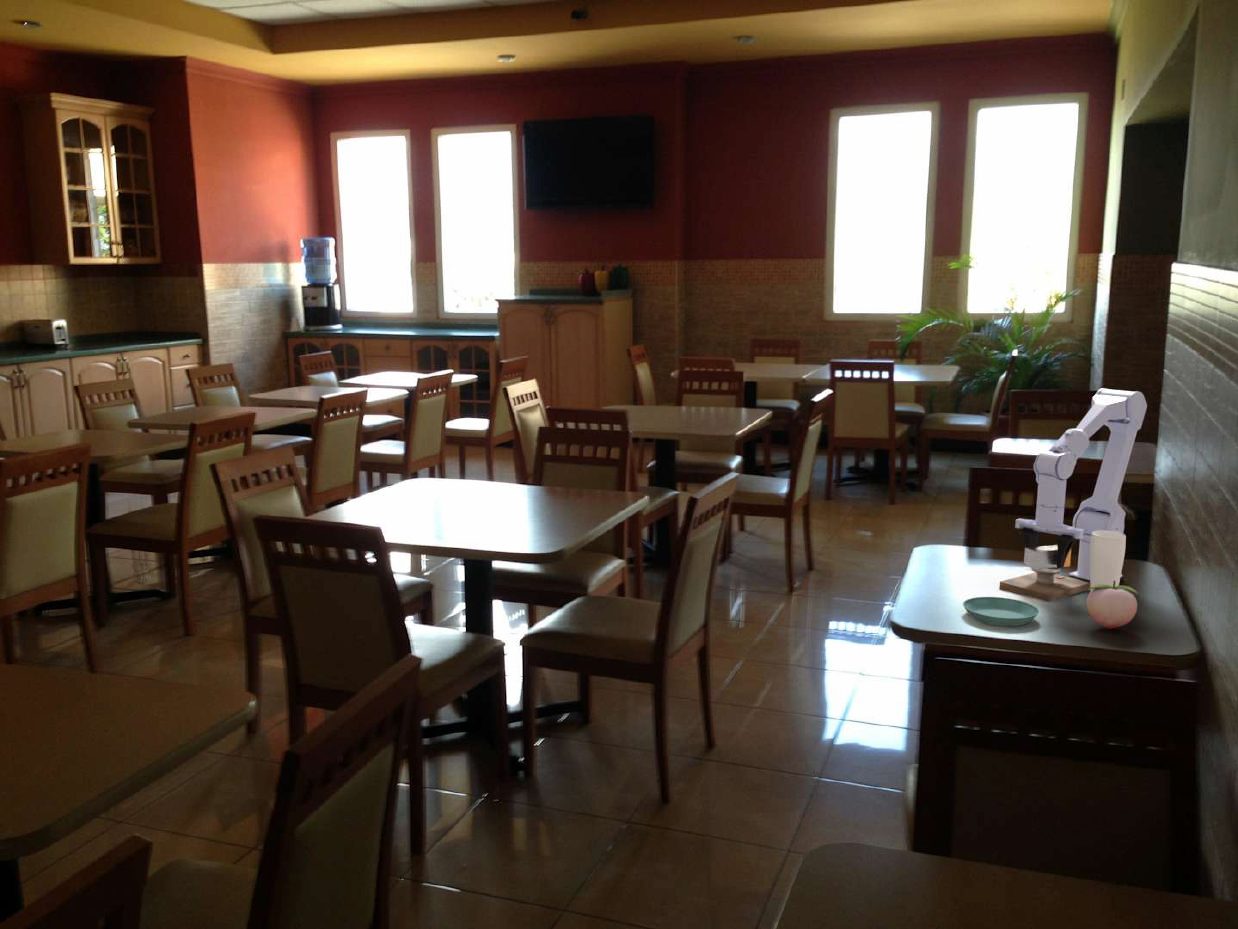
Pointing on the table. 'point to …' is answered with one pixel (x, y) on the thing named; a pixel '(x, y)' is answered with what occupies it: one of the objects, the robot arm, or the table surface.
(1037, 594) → the mount plate
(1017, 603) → the saucer
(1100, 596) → the decorative fruit
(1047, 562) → the grey and orange block
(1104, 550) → the drinking glass
